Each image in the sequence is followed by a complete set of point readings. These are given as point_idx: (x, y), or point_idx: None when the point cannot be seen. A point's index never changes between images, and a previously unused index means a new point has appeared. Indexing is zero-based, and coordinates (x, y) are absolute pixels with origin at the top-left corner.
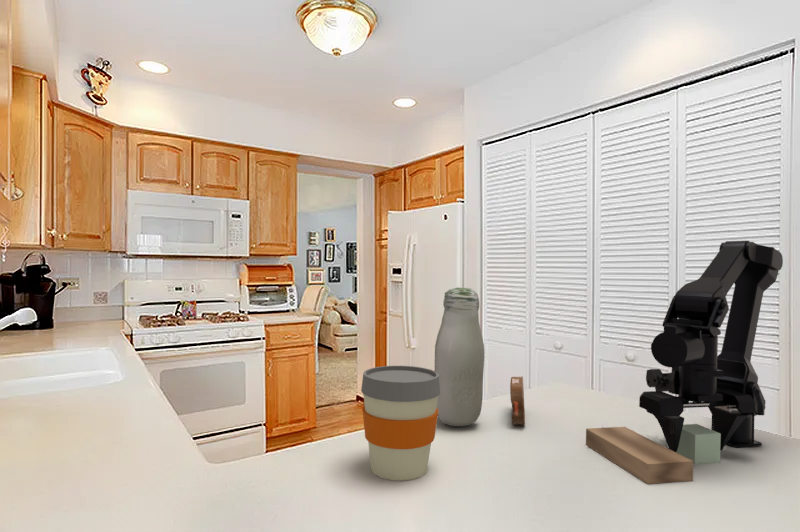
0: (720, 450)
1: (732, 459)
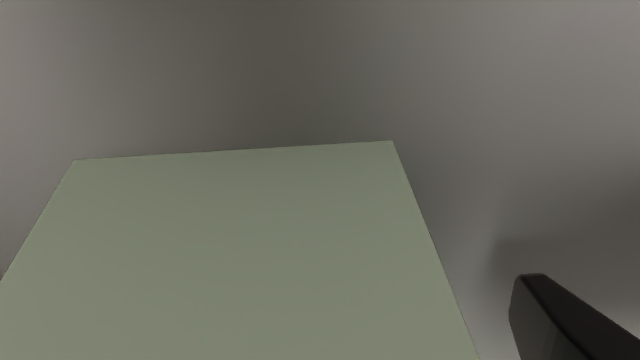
0: (514, 323)
1: None
